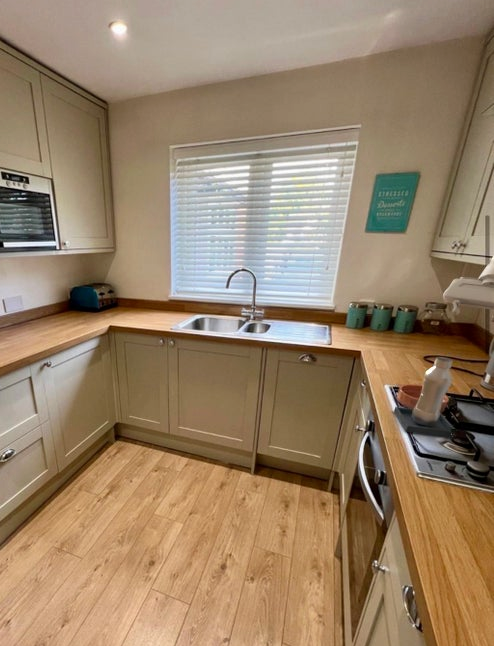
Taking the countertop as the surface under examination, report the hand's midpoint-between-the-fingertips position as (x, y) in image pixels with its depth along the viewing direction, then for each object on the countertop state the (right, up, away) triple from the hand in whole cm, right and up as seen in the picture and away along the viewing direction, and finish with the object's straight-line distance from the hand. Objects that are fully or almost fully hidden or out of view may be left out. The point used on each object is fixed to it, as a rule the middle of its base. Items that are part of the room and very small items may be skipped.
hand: (473, 317), depth 96 cm
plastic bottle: (-14, -31, +1) cm, 34 cm away
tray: (-14, -31, +1) cm, 34 cm away
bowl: (-7, -27, +12) cm, 30 cm away
